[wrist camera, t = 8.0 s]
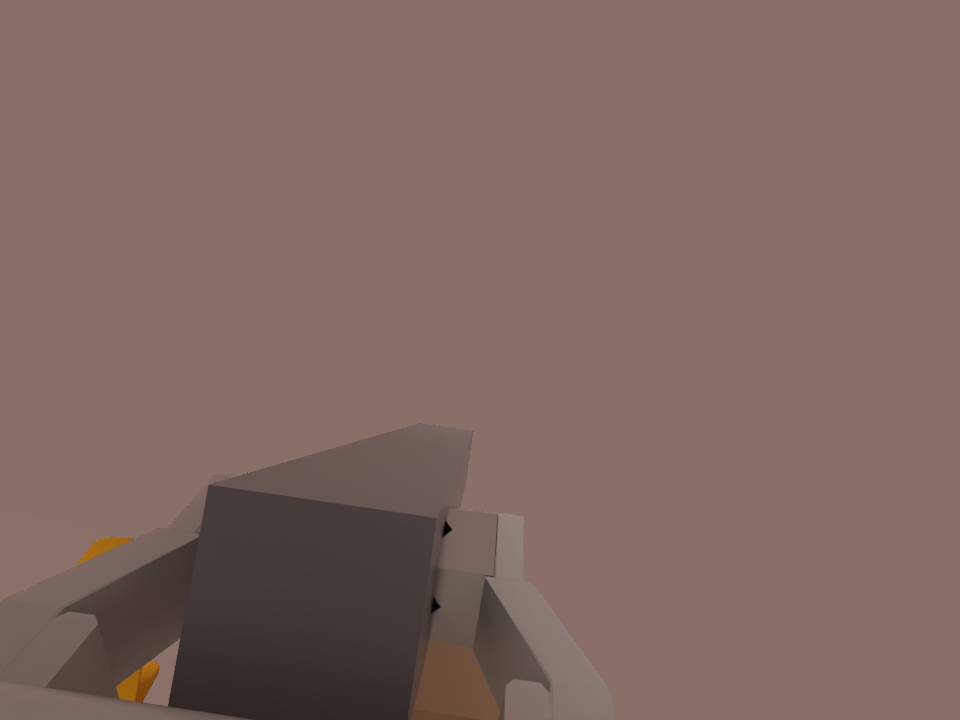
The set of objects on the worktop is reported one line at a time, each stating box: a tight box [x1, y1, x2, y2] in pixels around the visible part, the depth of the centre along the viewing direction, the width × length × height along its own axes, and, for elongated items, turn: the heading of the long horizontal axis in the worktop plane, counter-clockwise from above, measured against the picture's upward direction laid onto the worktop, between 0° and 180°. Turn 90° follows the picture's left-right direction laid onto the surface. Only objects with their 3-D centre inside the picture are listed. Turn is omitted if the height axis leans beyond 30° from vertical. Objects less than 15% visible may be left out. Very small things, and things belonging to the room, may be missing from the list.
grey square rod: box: [168, 423, 473, 720], centre depth 18 cm, size 22×3×3 cm, turn 0°
